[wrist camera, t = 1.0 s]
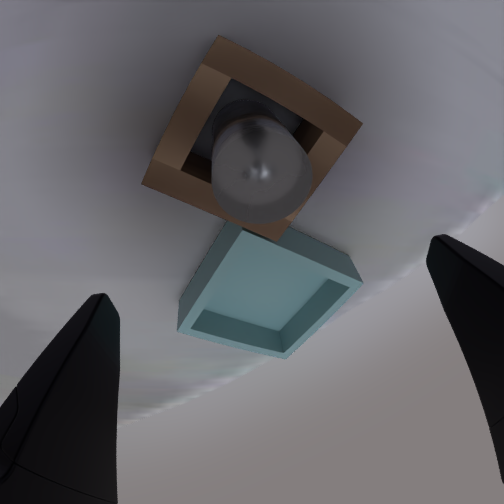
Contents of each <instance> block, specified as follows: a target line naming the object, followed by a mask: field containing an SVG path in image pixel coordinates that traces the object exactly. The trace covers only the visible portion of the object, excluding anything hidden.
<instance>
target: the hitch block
mask: <svg viewBox="0 0 504 504" xmlns="http://www.w3.org/2000/svg"><path fill="white" fill-rule="evenodd" d="M231 78H233V79H235V80H237V81H239V82H240V83H242V84H244V85H246V86H248V87H250V88H252V89H254V90H256V91H257V92H259V93H261V94H263V95H265V96H266V97H268V98H270V99H272V100H274V101H275V102H277V103H279V104H280V105H282V106H284V107H286V108H287V109H289V110H291V111H292V112H294V113H296V114H297V115H299V116H300V117H302V118H304V120H303V121H302V123H301V124H300V126H299V127H298V129H297V130H296V132H295V133H294V135H293V137H294V138H295V140H296V141H297V142H298V143H299V145H300V146H301V147H302V148H303V150H304V151H305V152H306V154H307V156H308V158H309V160H310V162H311V166H312V173H313V177H312V185H311V188H310V191H309V194H308V196H307V198H306V199H305V201H304V202H303V203H302V205H301V206H300V207H299V208H298V209H297V210H296V211H294V212H293V213H292V214H290V215H289V216H287V217H285V218H283V219H281V220H278V221H275V222H272V223H266V224H252V223H247V222H243V221H240V220H238V219H236V218H234V217H232V216H231V215H229V214H228V213H226V212H225V211H224V210H223V209H222V208H221V206H220V205H219V204H218V202H217V200H216V198H215V196H214V193H213V190H212V161H211V160H209V159H206V158H204V157H202V156H200V155H198V154H195V153H193V152H191V151H190V150H191V148H192V146H193V145H194V143H195V141H196V139H197V137H198V135H199V133H200V132H201V130H202V128H203V126H204V124H205V122H206V121H207V119H208V117H209V115H210V114H211V112H212V110H213V108H214V107H215V105H216V103H217V101H218V100H219V98H220V96H221V95H222V93H223V91H224V89H225V88H226V86H227V84H228V83H229V81H230V80H231ZM362 124H363V123H362V122H360V121H359V120H358V119H356V118H355V117H354V116H352V115H351V114H350V113H348V112H347V111H346V110H344V109H343V108H341V107H340V106H339V105H337V104H336V103H334V102H333V101H331V100H330V99H329V98H327V97H326V96H324V95H323V94H321V93H320V92H318V91H317V90H315V89H314V88H312V87H311V86H309V85H308V84H306V83H304V82H303V81H301V80H300V79H298V78H296V77H295V76H293V75H292V74H290V73H288V72H287V71H285V70H283V69H282V68H280V67H278V66H277V65H275V64H273V63H271V62H270V61H268V60H266V59H264V58H262V57H261V56H259V55H257V54H255V53H253V52H251V51H250V50H248V49H246V48H244V47H242V46H240V45H238V44H236V43H234V42H232V41H230V40H228V39H226V38H224V37H222V36H220V35H218V36H217V38H216V40H215V41H214V43H213V44H212V46H211V48H210V49H209V51H208V53H207V54H206V56H205V58H204V59H203V61H202V63H201V64H200V66H199V68H198V70H197V71H196V73H195V75H194V77H193V78H192V80H191V82H190V84H189V86H188V87H187V89H186V91H185V93H184V95H183V97H182V99H181V100H180V102H179V104H178V106H177V108H176V110H175V112H174V114H173V116H172V118H171V120H170V122H169V124H168V126H167V128H166V130H165V132H164V134H163V136H162V138H161V140H160V143H159V145H158V147H157V149H156V151H155V153H154V156H153V158H152V160H151V162H150V164H149V167H148V169H147V171H146V174H145V176H144V178H143V181H142V183H141V184H142V185H144V186H147V187H149V188H152V189H154V190H157V191H159V192H161V193H164V194H166V195H169V196H171V197H173V198H176V199H178V200H180V201H183V202H185V203H188V204H190V205H192V206H195V207H197V208H199V209H202V210H204V211H206V212H209V213H211V214H214V215H216V216H218V217H221V218H223V219H225V220H228V221H230V222H232V223H235V224H237V225H239V226H241V227H244V228H246V229H248V230H251V231H253V232H255V233H258V234H260V235H262V236H264V237H267V238H269V239H271V240H274V241H276V242H277V241H278V240H279V238H280V237H281V236H282V234H283V233H284V232H285V230H286V229H287V228H288V226H289V225H290V224H291V222H292V221H293V220H294V218H295V217H296V215H297V214H298V213H299V211H300V210H301V209H302V207H303V206H304V205H305V203H306V202H307V200H308V199H309V198H310V196H311V195H312V194H313V192H314V191H315V189H316V188H317V187H318V185H319V184H320V183H321V181H322V180H323V179H324V177H325V176H326V174H327V173H328V172H329V170H330V169H331V167H332V166H333V165H334V163H335V162H336V161H337V159H338V158H339V156H340V155H341V154H342V152H343V151H344V150H345V148H346V147H347V145H348V144H349V143H350V141H351V140H352V138H353V137H354V136H355V134H356V133H357V131H358V130H359V129H360V127H361V126H362Z"/></svg>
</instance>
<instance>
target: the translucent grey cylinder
mask: <svg viewBox="0 0 504 504" xmlns="http://www.w3.org/2000/svg"><path fill="white" fill-rule="evenodd" d="M312 177H313V173H312V166H311V162H310V160H309V158H308V156H307V154H306V152H305V151H304V150H303V148H302V147H301V146H300V145H299V143H298V142H297V141H296V140H295V138H294V137H293V136H292V135H291V134H290V132H289V131H288V130H287V129H286V127H285V126H284V125H283V124H282V123H281V122H280V120H279V119H278V118H277V117H276V116H275V114H274V113H273V112H272V111H271V110H270V109H269V108H268V107H267V106H266V105H264V104H262V103H260V102H258V101H255V100H248V99H244V100H238V101H234V102H232V103H230V104H228V105H226V106H225V107H224V108H223V109H222V110H221V111H220V112H219V113H218V115H217V116H216V118H215V120H214V123H213V129H212V190H213V193H214V196H215V198H216V200H217V202H218V204H219V205H220V206H221V208H222V209H223V210H224V211H225V212H226V213H228V214H229V215H231V216H232V217H234V218H236V219H238V220H240V221H243V222H247V223H252V224H266V223H272V222H275V221H278V220H281V219H283V218H285V217H287V216H289V215H290V214H292V213H293V212H294V211H296V210H297V209H298V208H299V207H300V206H301V205H302V203H303V202H304V201H305V199H306V198H307V196H308V194H309V191H310V188H311V185H312Z"/></svg>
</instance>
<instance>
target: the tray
mask: <svg viewBox="0 0 504 504" xmlns="http://www.w3.org/2000/svg"><path fill="white" fill-rule="evenodd" d="M362 284H363V281H362V279H361V277H360V275H359V273H358V272H357V270H356V268H355V266H354V264H353V262H352V260H351V258H350V257H349V256H348V255H346V254H344V253H342V252H340V251H338V250H336V249H334V248H332V247H330V246H328V245H326V244H324V243H322V242H320V241H318V240H316V239H313V238H311V237H309V236H307V235H305V234H303V233H301V232H299V231H297V230H295V229H293V228H291V227H288V228H287V229H286V230H285V232H284V233H283V234H282V236H281V237H280V238H279V240H278V241H277V242H276V241H274V240H271V239H269V238H267V237H264V236H262V235H260V234H258V233H255V232H253V231H251V230H248V229H246V228H244V227H241V226H239V225H237V224H235V223H232V222H230V221H227V222H226V224H225V225H224V227H223V229H222V230H221V232H220V234H219V235H218V237H217V239H216V240H215V242H214V243H213V245H212V247H211V248H210V250H209V252H208V253H207V255H206V257H205V258H204V260H203V262H202V263H201V265H200V267H199V268H198V270H197V272H196V273H195V275H194V277H193V278H192V280H191V282H190V283H189V285H188V287H187V289H186V290H185V292H184V294H183V295H182V297H181V299H180V301H179V309H178V323H177V332H180V333H183V334H187V335H190V336H194V337H197V338H201V339H204V340H208V341H212V342H216V343H219V344H223V345H227V346H231V347H235V348H239V349H243V350H247V351H251V352H255V353H260V354H264V355H268V356H273V357H277V358H282V359H287V358H288V357H289V356H290V355H291V354H292V353H293V352H294V351H295V350H296V349H298V348H299V347H300V346H301V345H302V344H303V343H304V342H305V341H306V340H307V339H308V338H309V337H310V336H312V335H313V334H314V333H315V332H316V331H317V330H318V329H319V328H320V327H321V326H322V325H323V324H324V323H325V322H326V321H327V320H328V319H329V318H330V317H331V316H332V315H333V314H334V313H335V312H336V311H337V310H338V309H339V308H340V307H341V306H342V305H343V304H344V303H345V302H346V301H347V300H348V299H349V298H350V297H351V296H352V295H353V294H354V293H355V292H356V291H357V290H358V289H359V288H360V287H361V285H362Z"/></svg>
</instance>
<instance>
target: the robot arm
mask: <svg viewBox="0 0 504 504" xmlns="http://www.w3.org/2000/svg"><path fill="white" fill-rule="evenodd" d="M426 264H427V267H428V270H429V273H430V275H431V278H432V280H433V283H434V285H435V288H436V290H437V293H438V296H439V298H440V301H441V304H442V306H443V308H444V311H445V313H446V316H447V318H448V320H449V322H450V324H451V327H452V329H453V331H454V333H455V336H456V338H457V340H458V342H459V345H460V347H461V350H462V352H463V354H464V357H465V359H466V362H467V364H468V367H469V370H470V372H471V375H472V377H473V380H474V383H475V386H476V388H477V391H478V394H479V397H480V400H481V403H482V406H483V409H484V412H485V416H486V419H487V422H488V425H489V430H490V433H491V436H492V440H493V444H494V448H495V452H496V456H497V460H498V465H499V469H500V474H501V479H502V482H503V483H504V265H502V264H500V263H499V262H497V261H495V260H493V259H492V258H489V257H488V256H486V255H484V254H482V253H481V252H479V251H477V250H475V249H473V248H471V247H469V246H468V245H465V244H464V243H462V242H460V241H458V240H456V239H454V238H452V237H450V236H448V235H446V234H441V235H436V236H434V237H433V238H432V239H431V243H430V247H429V250H428V254H427V258H426ZM119 378H120V317H119V314H118V312H117V310H116V308H115V307H114V305H113V303H112V302H111V300H110V298H109V297H108V295H107V294H105V293H99V294H93V295H91V296H90V297H89V298H88V299H87V300H86V302H85V303H84V304H83V305H82V306H81V307H80V308H79V309H78V311H77V312H76V313H75V314H74V315H73V316H72V317H71V319H70V320H69V321H68V322H67V323H66V324H65V326H64V327H63V328H62V329H61V330H60V331H59V333H58V334H57V335H56V336H55V337H54V339H53V340H52V341H51V342H50V343H49V345H48V346H47V347H46V348H45V349H44V351H43V352H42V353H41V354H40V356H39V357H38V358H37V359H36V361H35V362H34V363H33V364H32V366H31V367H30V368H29V370H28V371H27V372H26V373H25V375H24V376H23V377H22V379H21V380H20V381H19V383H18V384H17V387H15V388H14V389H13V391H12V392H11V393H10V395H9V396H8V397H7V399H6V400H5V401H4V403H3V404H2V405H1V407H0V504H117V503H118V500H117V470H116V439H117V437H116V436H117V409H118V391H119Z"/></svg>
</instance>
